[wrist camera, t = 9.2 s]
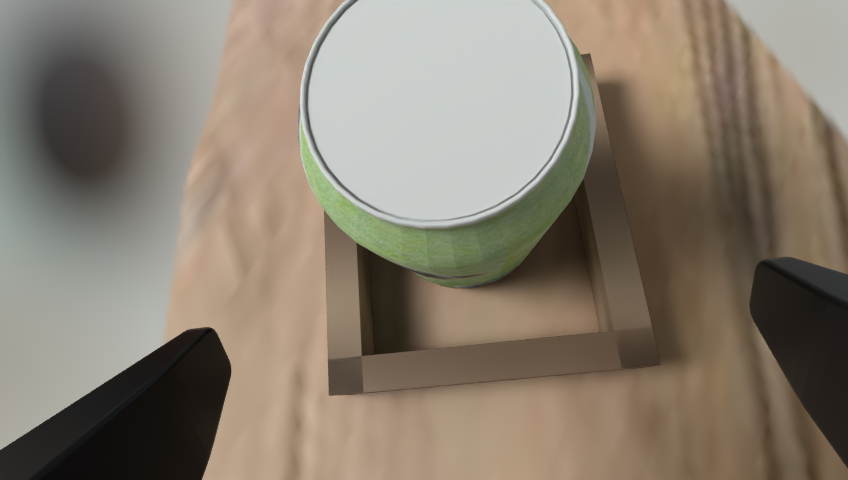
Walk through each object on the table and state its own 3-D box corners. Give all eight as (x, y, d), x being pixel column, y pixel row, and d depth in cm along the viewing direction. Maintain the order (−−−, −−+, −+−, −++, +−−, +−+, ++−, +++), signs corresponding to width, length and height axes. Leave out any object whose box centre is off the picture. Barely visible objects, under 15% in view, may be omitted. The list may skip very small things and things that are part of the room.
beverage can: (514, 137, 21) (543, -168, 9) (570, 304, 18) (697, 168, 7) (372, 176, 21) (234, -73, 10) (409, 345, 19) (285, 276, 7)
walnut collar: (642, 367, 17) (660, 364, 16) (345, 395, 19) (329, 395, 17) (581, 83, 21) (590, 53, 19) (335, 120, 22) (321, 95, 20)
